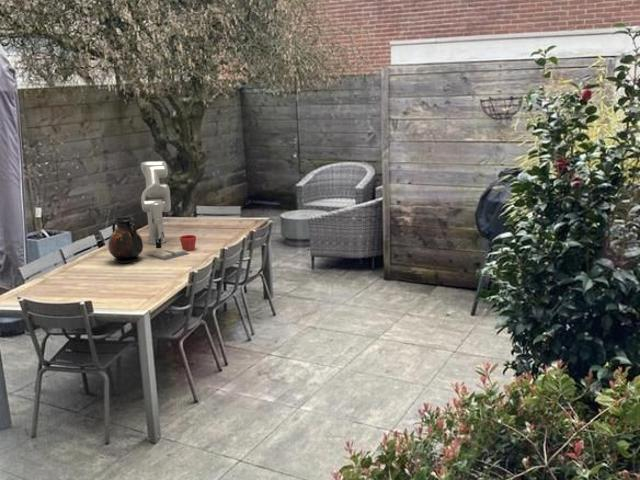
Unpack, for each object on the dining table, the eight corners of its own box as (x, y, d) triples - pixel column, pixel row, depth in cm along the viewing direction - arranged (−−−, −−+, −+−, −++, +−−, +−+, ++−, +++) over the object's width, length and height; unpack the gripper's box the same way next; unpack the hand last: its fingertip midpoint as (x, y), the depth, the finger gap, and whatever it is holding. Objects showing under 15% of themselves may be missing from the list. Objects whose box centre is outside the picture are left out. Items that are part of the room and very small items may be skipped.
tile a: (166, 250, 403) (175, 252, 397) (176, 248, 409) (185, 250, 403) (166, 253, 404) (175, 255, 398) (176, 250, 410) (185, 253, 404)
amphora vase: (151, 258, 393) (148, 216, 386) (128, 267, 374) (124, 223, 367) (126, 255, 402) (122, 214, 395) (102, 263, 383) (98, 220, 376)
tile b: (153, 253, 395) (162, 255, 389) (163, 251, 401) (172, 253, 395) (153, 256, 396) (162, 258, 390) (163, 254, 402) (172, 256, 396)
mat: (146, 256, 399) (146, 255, 398) (172, 249, 414) (172, 249, 414) (164, 261, 386) (164, 260, 386) (190, 254, 402) (190, 253, 402)
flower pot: (193, 252, 407) (192, 238, 405) (178, 252, 409) (177, 238, 407) (199, 248, 417) (198, 235, 415) (184, 248, 419) (183, 234, 417)
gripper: (145, 220, 395) (147, 247, 399) (158, 223, 385) (160, 251, 390) (154, 218, 400) (156, 245, 405) (168, 221, 391) (170, 248, 395)
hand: (158, 248), depth 397 cm, fingers closed
